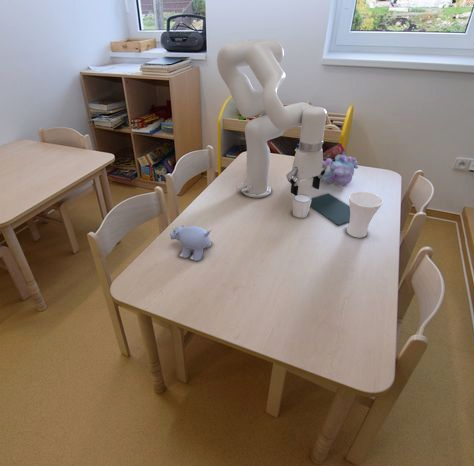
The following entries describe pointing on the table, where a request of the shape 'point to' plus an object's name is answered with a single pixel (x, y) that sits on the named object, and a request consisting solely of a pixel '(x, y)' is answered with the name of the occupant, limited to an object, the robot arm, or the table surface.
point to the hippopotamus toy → (192, 240)
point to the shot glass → (301, 205)
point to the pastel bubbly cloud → (338, 166)
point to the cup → (362, 212)
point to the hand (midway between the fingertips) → (304, 191)
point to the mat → (331, 208)
